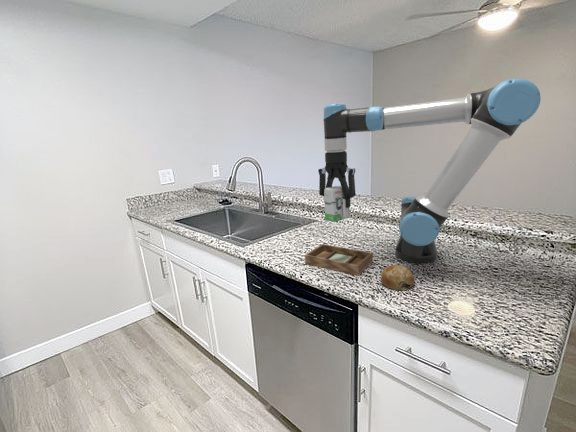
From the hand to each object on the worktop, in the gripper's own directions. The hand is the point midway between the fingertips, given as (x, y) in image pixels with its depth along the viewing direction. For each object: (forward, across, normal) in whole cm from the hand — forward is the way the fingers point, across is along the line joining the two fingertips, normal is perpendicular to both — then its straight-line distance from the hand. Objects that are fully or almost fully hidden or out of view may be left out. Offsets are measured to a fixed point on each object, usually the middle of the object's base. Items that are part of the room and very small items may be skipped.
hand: (337, 215), depth 112 cm
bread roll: (+19, -24, +6) cm, 31 cm away
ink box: (+2, 0, 0) cm, 2 cm away
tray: (+19, 0, 0) cm, 19 cm away
